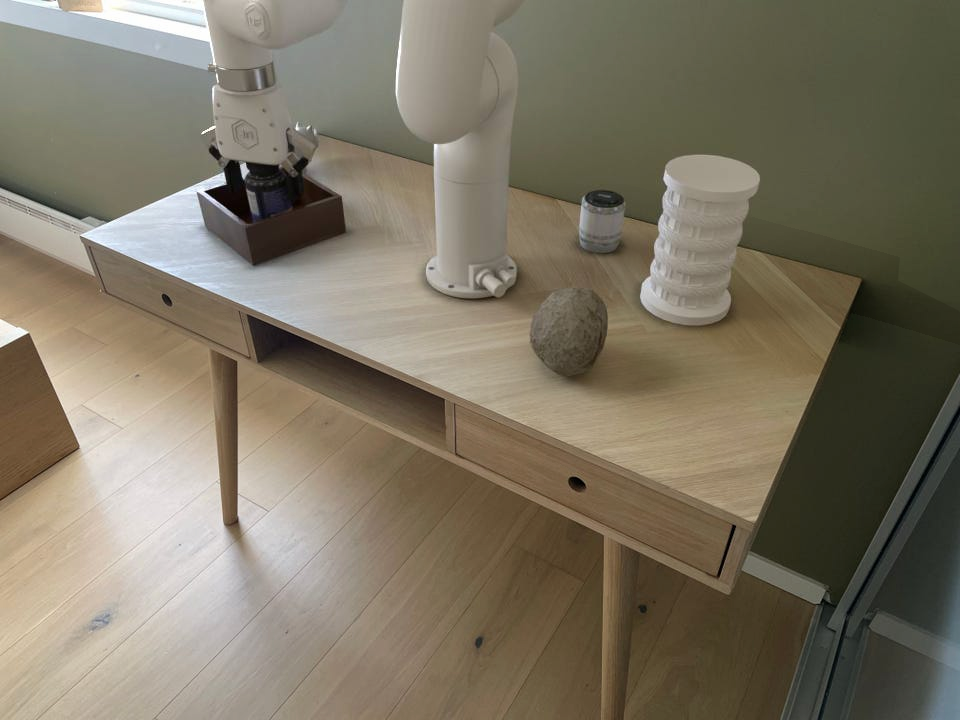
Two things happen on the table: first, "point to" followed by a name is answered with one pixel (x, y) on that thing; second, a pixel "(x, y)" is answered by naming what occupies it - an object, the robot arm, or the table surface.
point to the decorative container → (698, 238)
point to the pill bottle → (266, 190)
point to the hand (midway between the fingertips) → (266, 194)
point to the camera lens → (601, 221)
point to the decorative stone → (570, 330)
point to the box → (272, 220)
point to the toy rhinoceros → (309, 136)
